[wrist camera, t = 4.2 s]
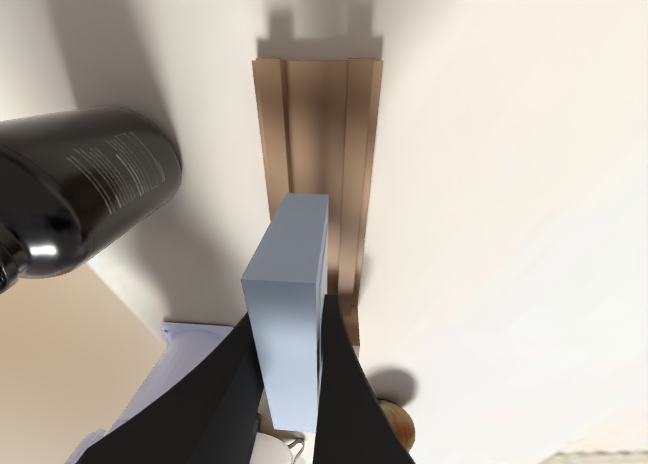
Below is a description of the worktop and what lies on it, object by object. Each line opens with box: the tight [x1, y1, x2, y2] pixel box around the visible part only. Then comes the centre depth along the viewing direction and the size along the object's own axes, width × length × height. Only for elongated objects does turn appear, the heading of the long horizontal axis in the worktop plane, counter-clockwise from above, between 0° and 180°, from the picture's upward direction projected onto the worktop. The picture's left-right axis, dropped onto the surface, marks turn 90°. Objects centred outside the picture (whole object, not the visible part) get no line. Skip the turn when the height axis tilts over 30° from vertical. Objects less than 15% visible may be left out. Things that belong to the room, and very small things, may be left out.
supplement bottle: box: [0, 106, 181, 294], centre depth 13 cm, size 7×7×12 cm
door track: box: [252, 58, 383, 359], centre depth 17 cm, size 20×7×5 cm, turn 0°
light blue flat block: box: [241, 193, 329, 433], centre depth 11 cm, size 9×2×6 cm, turn 0°
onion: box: [378, 400, 415, 453], centre depth 29 cm, size 8×8×8 cm
